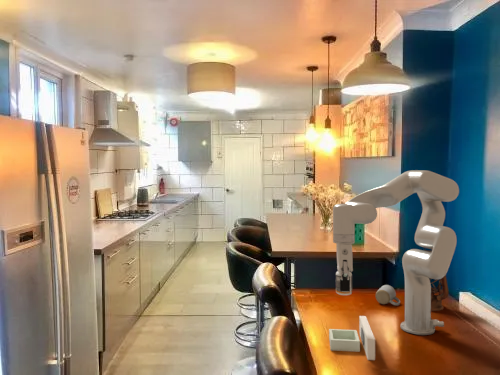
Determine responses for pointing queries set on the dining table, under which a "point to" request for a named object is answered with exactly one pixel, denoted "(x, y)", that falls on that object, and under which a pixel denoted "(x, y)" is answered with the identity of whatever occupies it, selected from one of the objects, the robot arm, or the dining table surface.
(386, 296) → the ceramic mug
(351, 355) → the dining table surface
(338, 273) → the pill bottle
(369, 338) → the board
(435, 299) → the lantern
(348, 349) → the pale green square tray
